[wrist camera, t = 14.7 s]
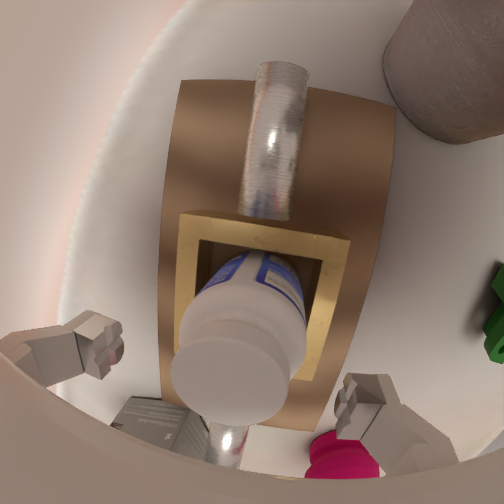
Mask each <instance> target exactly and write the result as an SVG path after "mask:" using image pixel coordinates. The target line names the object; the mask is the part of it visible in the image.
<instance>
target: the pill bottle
mask: <svg viewBox="0 0 504 504" xmlns="http://www.w3.org/2000/svg"><path fill="white" fill-rule="evenodd" d="M179 343H180V347H179V349H178V351H177V353H176V354H175V356H174V358H173V360H172V364H171V369H170V375H171V381H172V384H173V387H174V389H175V391H176V393H177V394H178V396H179V397H180V399H181V400H182V401H183V402H184V403H185V404H186V405H187V406H188V407H189V408H190V409H191V410H193V411H194V412H196V413H197V414H199V415H201V416H202V417H204V418H206V419H208V420H211V421H214V422H217V423H220V424H224V425H231V426H248V425H254V424H258V423H261V422H263V421H266V420H268V419H269V418H271V417H272V416H274V415H275V414H276V413H277V412H278V411H279V410H280V409H281V408H282V406H283V405H284V403H285V400H286V398H287V394H288V386H289V381H290V380H291V379H292V378H293V377H294V376H295V374H296V373H297V372H298V370H299V368H300V367H301V365H302V363H303V360H304V358H305V354H306V348H307V333H306V320H305V309H304V299H303V291H302V284H301V280H300V277H299V275H298V273H297V271H296V269H295V268H294V267H293V265H292V264H291V263H290V262H289V261H288V260H287V259H285V258H284V257H282V256H281V255H279V254H277V253H275V252H272V251H267V250H262V249H252V250H246V251H243V252H240V253H238V254H236V255H235V256H233V257H232V258H230V259H229V260H228V261H227V262H226V263H225V264H224V265H223V266H222V267H221V268H220V270H219V271H218V272H217V273H216V274H215V275H214V276H213V278H212V279H211V280H210V281H209V282H208V283H207V284H206V285H205V287H204V288H203V289H202V290H201V291H200V292H199V293H198V295H197V296H196V297H195V298H194V299H193V301H192V302H191V303H190V305H189V306H188V307H187V309H186V311H185V312H184V315H183V317H182V320H181V323H180V329H179Z"/></svg>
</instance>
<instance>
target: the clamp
mask: <svg viewBox="0 0 504 504" xmlns="http://www.w3.org/2000/svg"><path fill="white" fill-rule="evenodd" d="M491 286H492V288H493V289H494V290H495V292H496V293H497V294H498V296H499V297H500V298H501V300H502V302H501V304H500V305H499V306H498V308H497V309H496V311H495V312H494V313H493V315H492V316H491V318H490V319H489V320H488V322H487V323H486V324H485V326H484V328H483V331H484V333H485V334H486V336H487V337H486V339H485V342H484V347H485V350H486V352H487V354H488V356H489V358H490V360H491V361H493V362H497V363H500V364H503V363H504V263H503V264H502V266H501V268H500V269H499V271H498V273H497V274H496V276H495V278H494V279H493V281H492V283H491Z"/></svg>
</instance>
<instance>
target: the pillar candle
mask: <svg viewBox="0 0 504 504" xmlns="http://www.w3.org/2000/svg"><path fill="white" fill-rule="evenodd" d="M383 69H384V72H385V77H386V80H387V83H388V86H389V88H390V90H391V93H392V95H393V97H394V99H395V101H396V103H397V105H398V106H399V107H400V109H401V110H402V111H403V113H404V114H405V115H406V116H407V118H408V119H409V120H411V121H412V122H413V123H414V124H415V125H416V126H417V127H418V128H419V129H420V130H422V131H423V132H425V133H426V134H428V135H430V136H432V137H434V138H436V139H438V140H441V141H444V142H448V143H452V144H456V145H457V144H466V143H470V142H472V141H477V140H481V139H486V138H489V137H493V136H498V135H501V134H504V0H414V2H413V3H412V5H411V7H410V8H409V10H408V12H407V13H406V15H405V17H404V18H403V20H402V22H401V23H400V25H399V27H398V28H397V30H396V32H395V34H394V35H393V37H392V38H391V40H390V41H389V43H388V45H387V47H386V49H385V52H384V55H383Z"/></svg>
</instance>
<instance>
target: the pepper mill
mask: <svg viewBox="0 0 504 504" xmlns="http://www.w3.org/2000/svg"><path fill="white" fill-rule="evenodd" d="M310 463H311V464H312V465H311V466H310V468H309V469H308V470H307V471H306V473H305V477H304V478H310V479H363V478H377V477H379V465H378V463H377V462H376V461H375V459H374V458H373V457H372V456H371V455H370V454H369V452H368V451H367V449H366V448H365V447H364V446H363V444H362V443H361V442H360V440H347V439H337V434H336V430H335V431H331V432H328V433H326V434H323V435H322V436H320V437H318V438H317V439H316V440H315V441H314V442H313V443H312V444H311V446H310Z"/></svg>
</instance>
